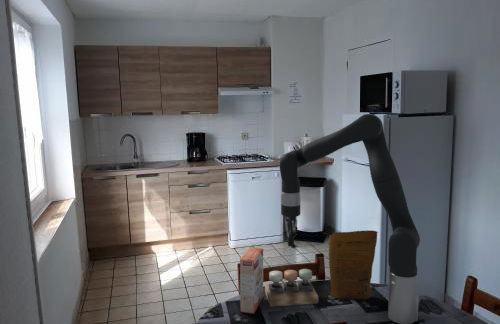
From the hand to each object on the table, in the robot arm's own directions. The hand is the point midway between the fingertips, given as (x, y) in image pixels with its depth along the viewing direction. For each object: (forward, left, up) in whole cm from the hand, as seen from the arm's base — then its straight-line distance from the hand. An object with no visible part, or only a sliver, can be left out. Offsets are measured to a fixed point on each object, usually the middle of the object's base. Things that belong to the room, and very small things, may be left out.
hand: (290, 245), depth 161 cm
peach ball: (0, 0, -16) cm, 16 cm away
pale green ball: (-6, 0, -16) cm, 17 cm away
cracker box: (+16, +4, -22) cm, 27 cm away
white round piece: (+6, 0, -16) cm, 17 cm away
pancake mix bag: (-24, +4, -22) cm, 33 cm away
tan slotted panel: (0, 0, -22) cm, 22 cm away
